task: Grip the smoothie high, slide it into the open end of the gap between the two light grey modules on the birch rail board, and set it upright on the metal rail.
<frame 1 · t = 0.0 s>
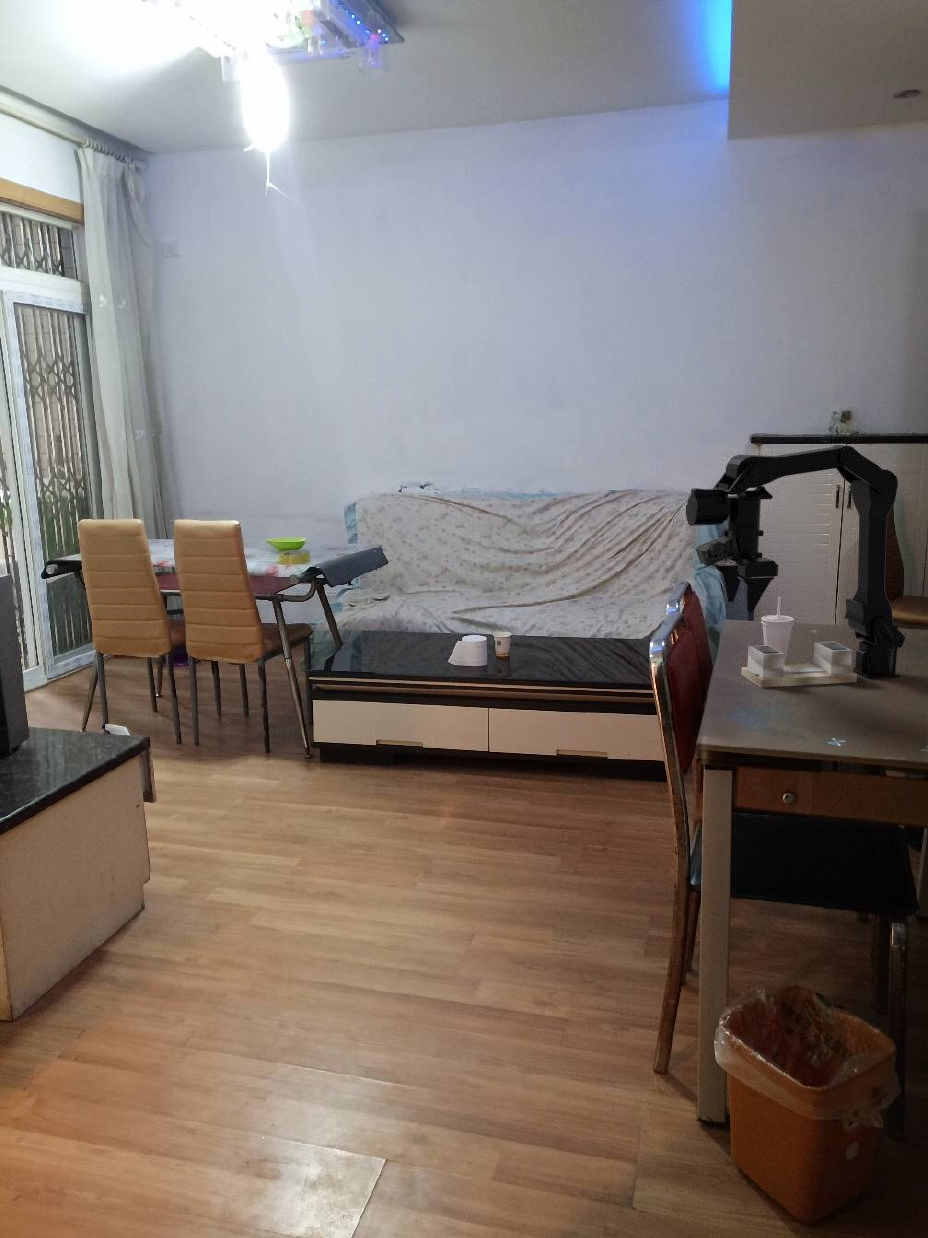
hand: (739, 606, 183), 15 cm above the table, fingers open, 9 cm apart
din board: (797, 678, 187), on the table
smoothie: (775, 665, 197), on the table
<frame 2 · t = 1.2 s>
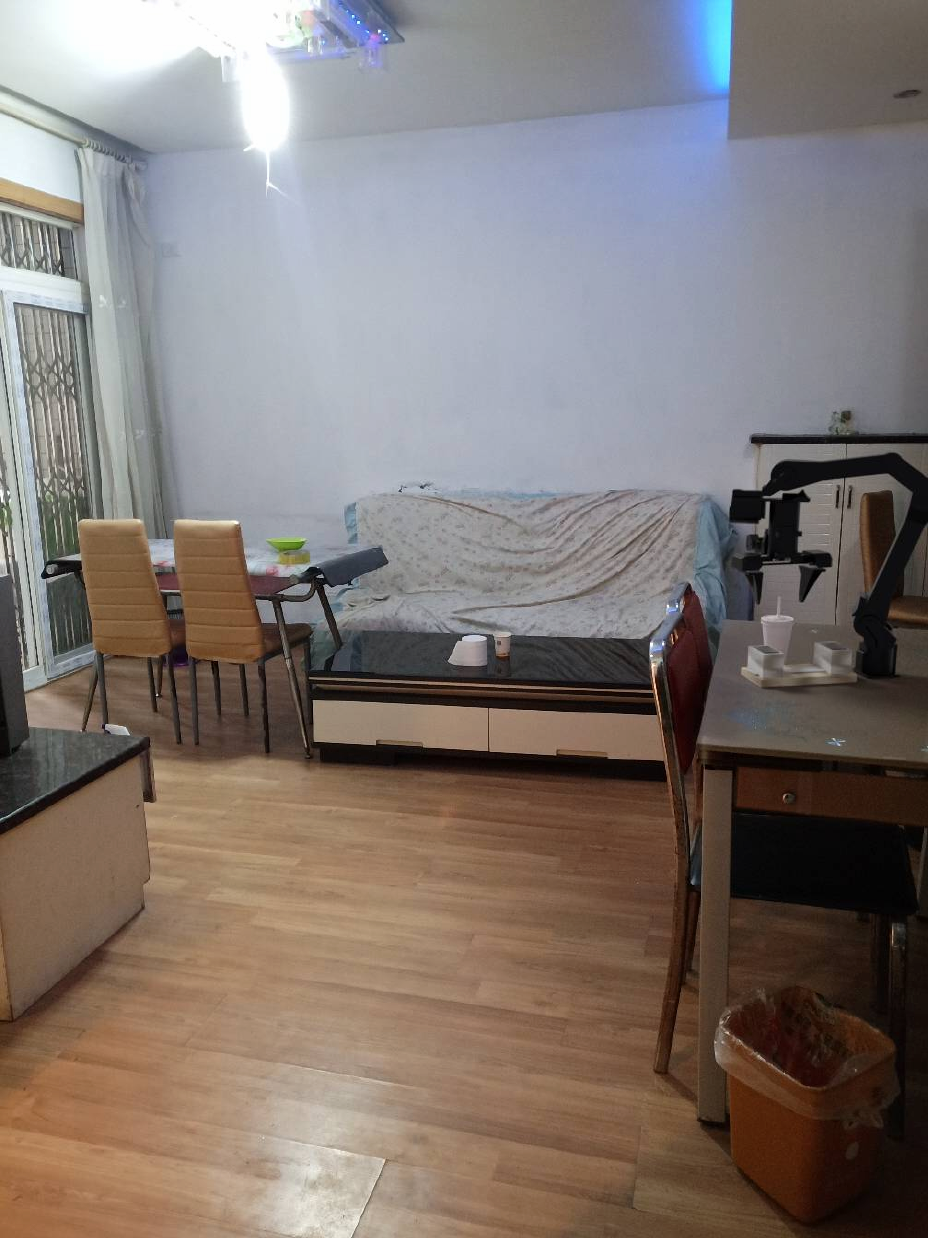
hand: (779, 603, 193), 13 cm above the table, fingers open, 9 cm apart
nothing on the table moved.
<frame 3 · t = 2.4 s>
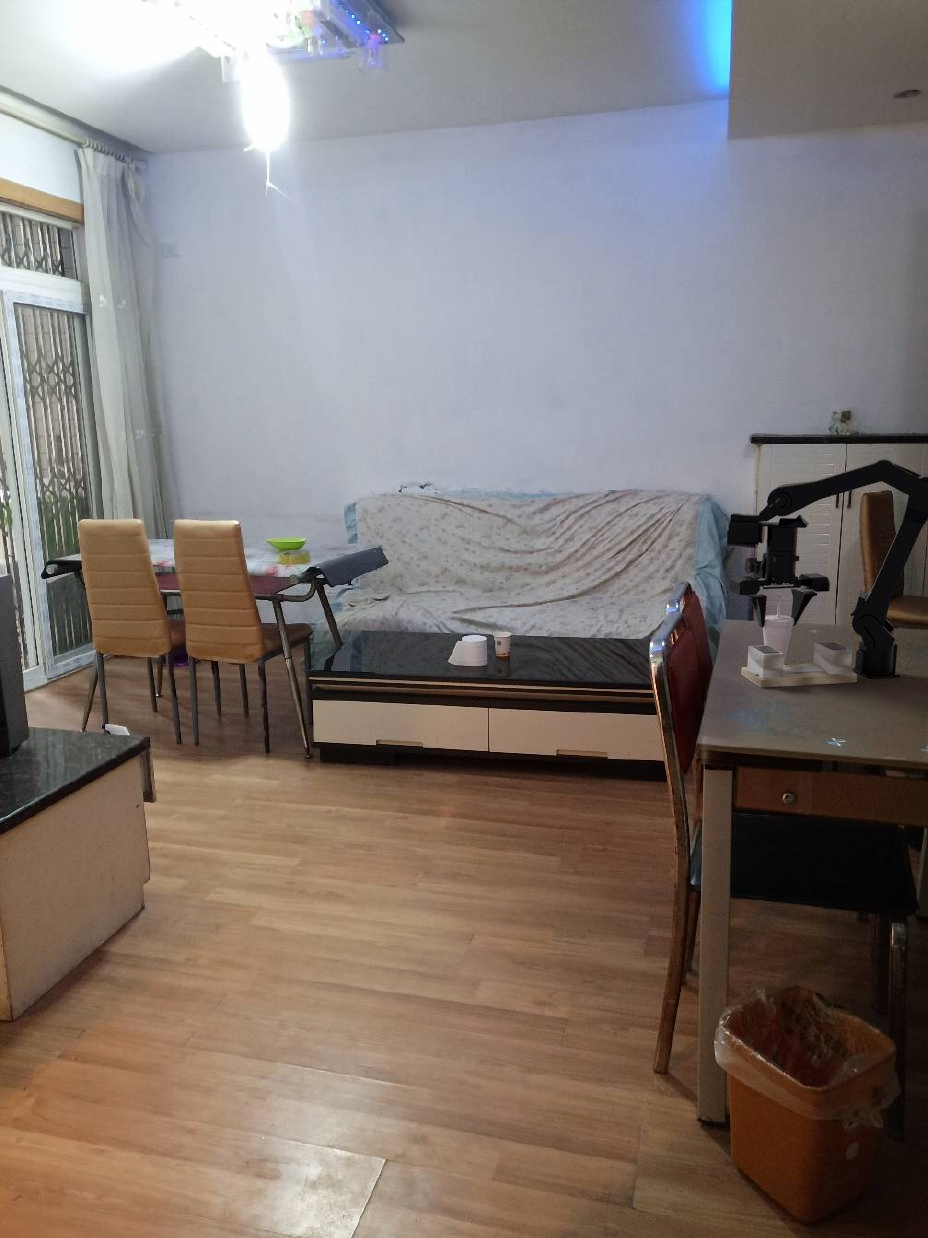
hand: (777, 626, 195), 8 cm above the table, fingers closed on smoothie, 6 cm apart
smoothie: (775, 665, 197), on the table, touching gripper
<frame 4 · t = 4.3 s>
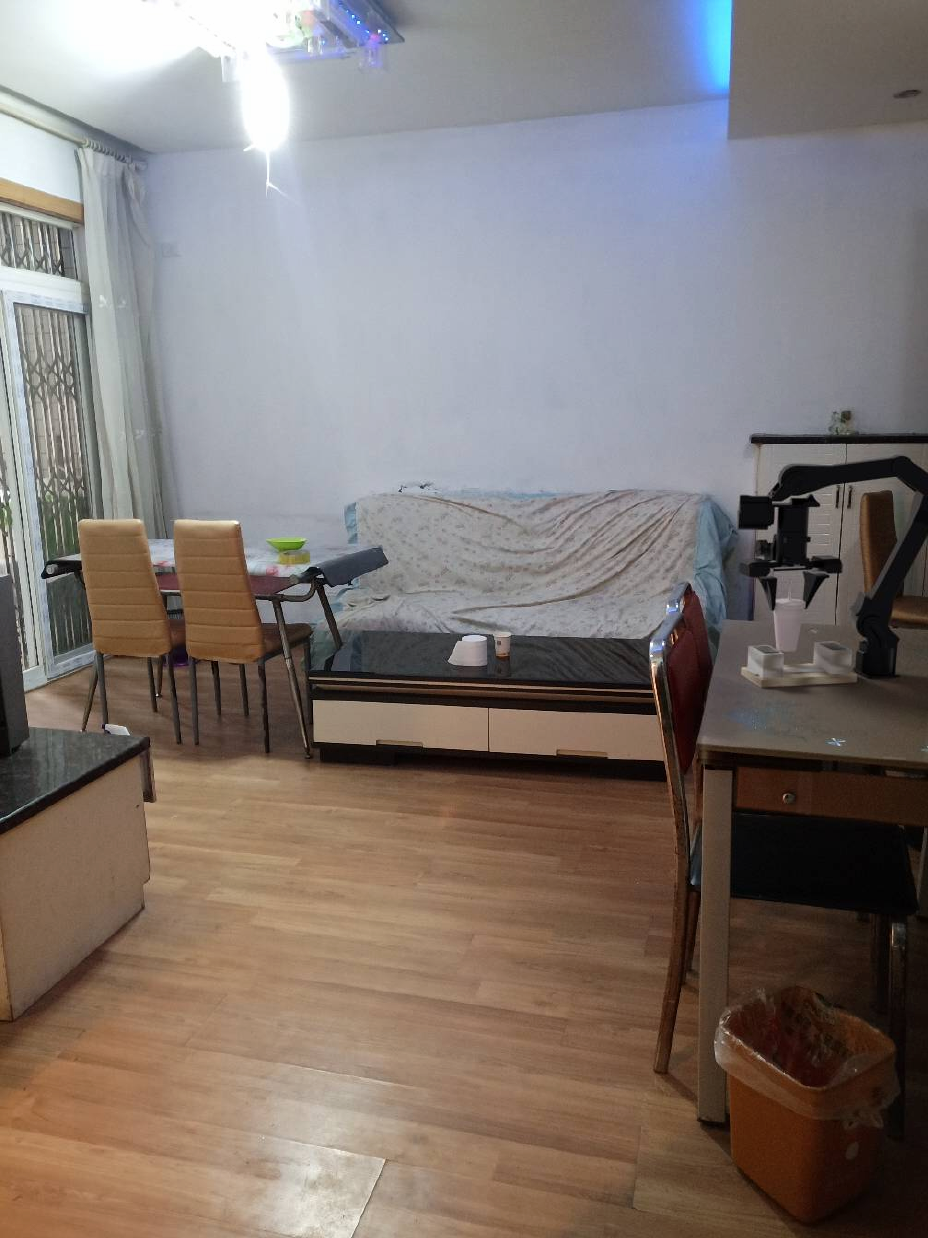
hand: (788, 609, 190), 12 cm above the table, fingers closed on smoothie, 6 cm apart
smoothie: (786, 650, 192), point 4 cm above the table, touching gripper
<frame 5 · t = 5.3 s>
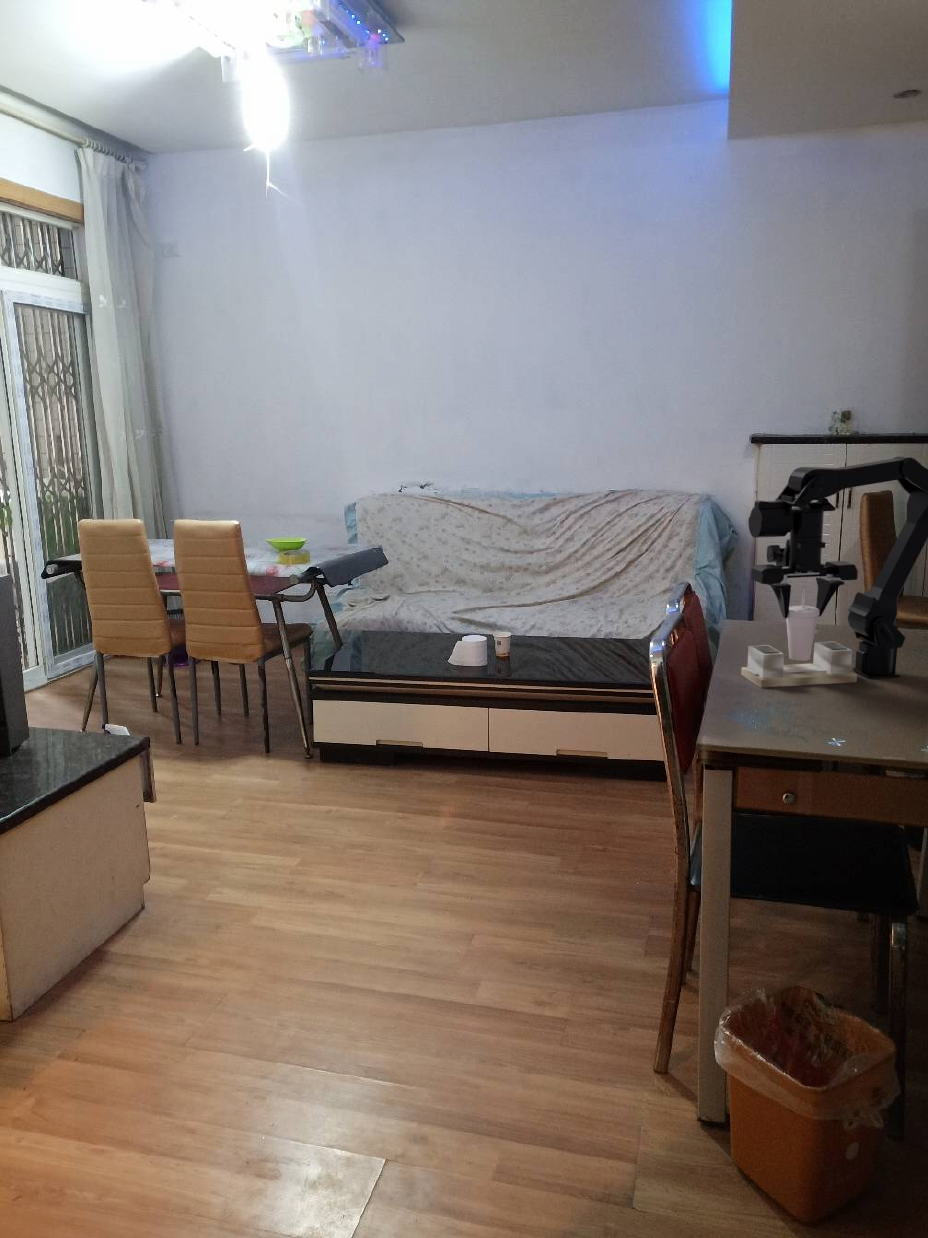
hand: (801, 617, 185), 12 cm above the table, fingers closed on smoothie, 6 cm apart
smoothie: (799, 659, 187), point 4 cm above the table, touching gripper
when the fingers open (10 cm above the table, at t = 6.1 s): smoothie stays where it is, resting on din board.
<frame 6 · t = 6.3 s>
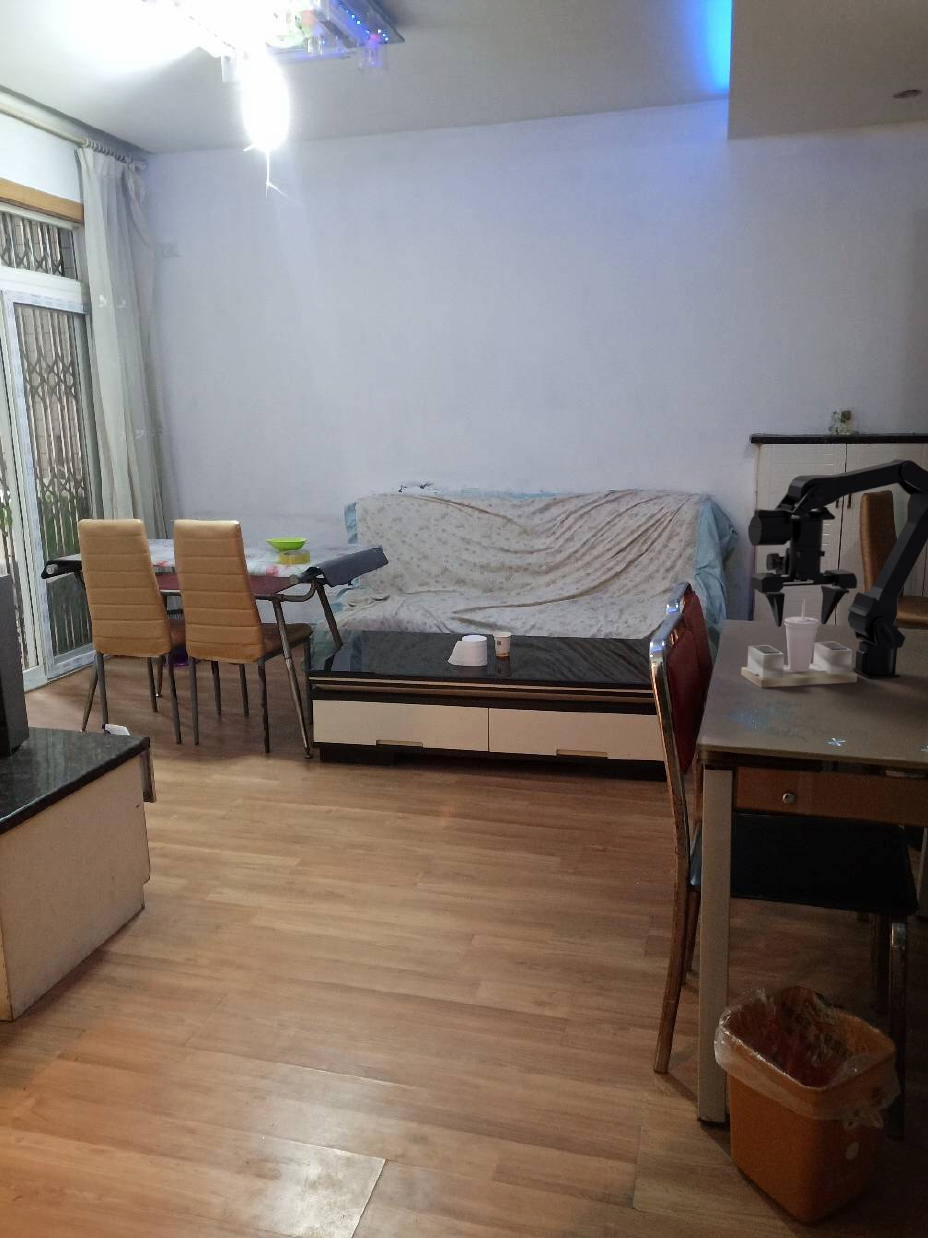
hand: (801, 625, 185), 10 cm above the table, fingers open, 9 cm apart
smoothie: (798, 670, 187), point 2 cm above the table, touching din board
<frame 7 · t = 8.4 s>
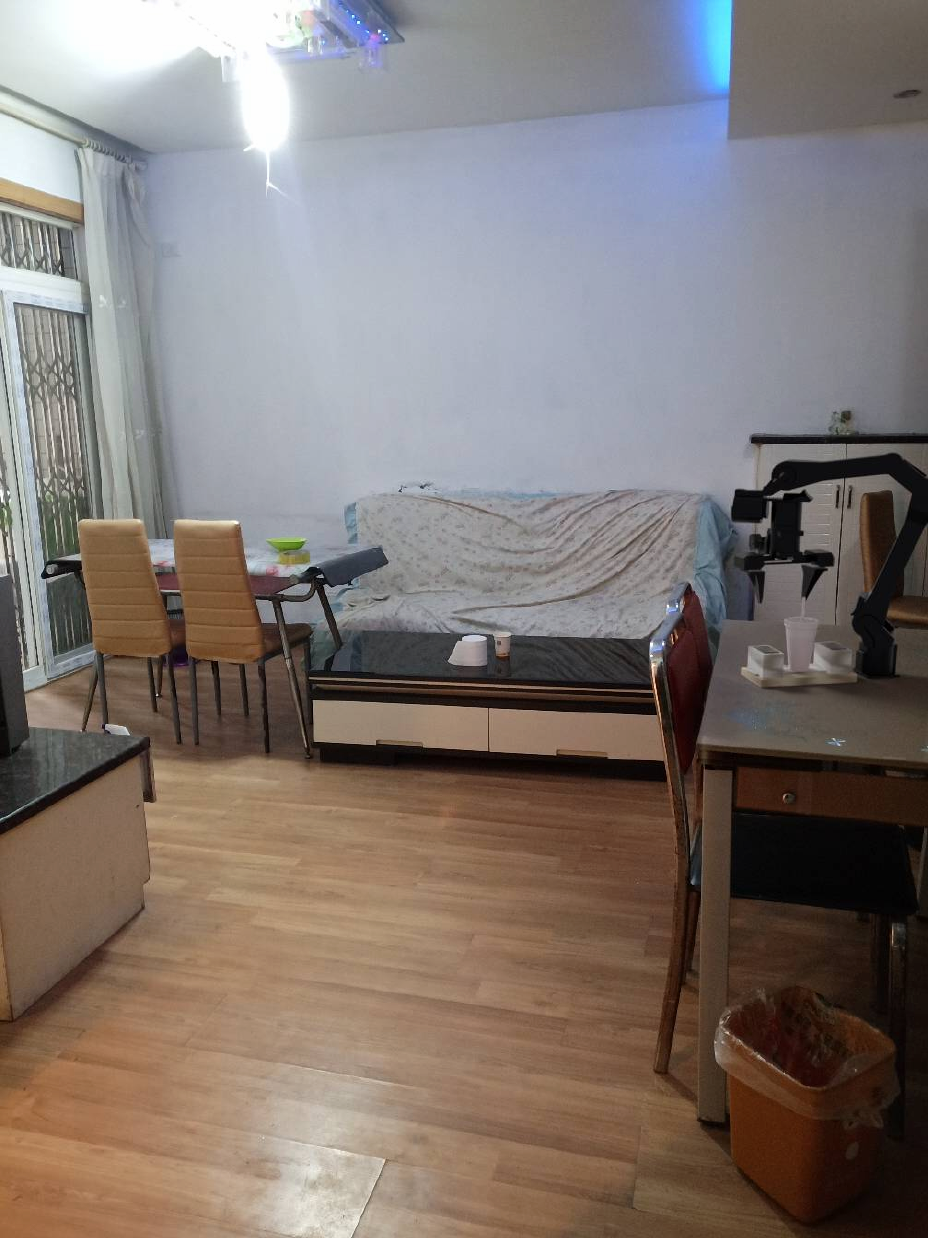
hand: (781, 602, 194), 13 cm above the table, fingers open, 9 cm apart
nothing on the table moved.
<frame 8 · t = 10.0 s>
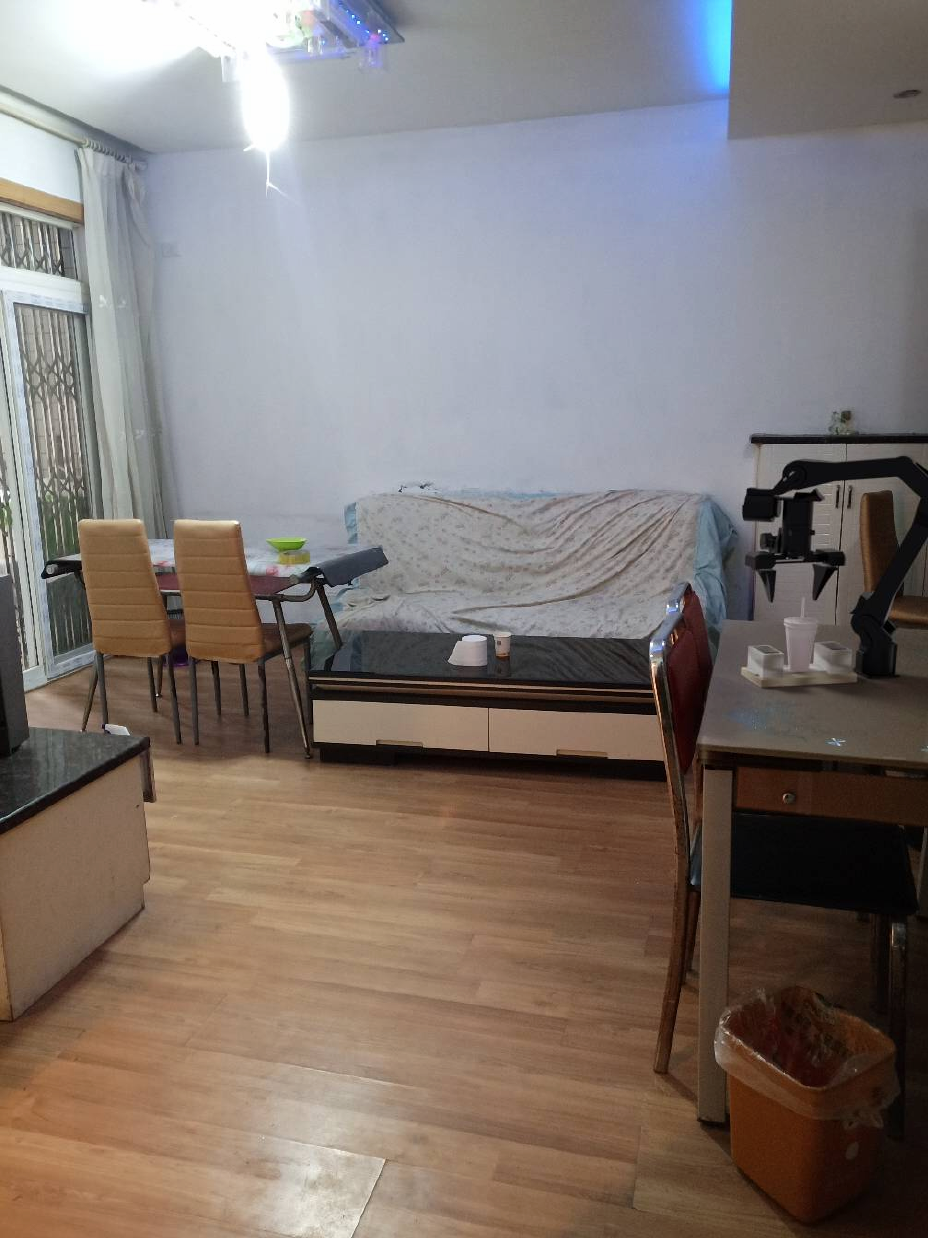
hand: (792, 601, 195), 13 cm above the table, fingers open, 9 cm apart
nothing on the table moved.
at the end: smoothie 0.1 cm off-centre on the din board, point 1.6 cm above the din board's base; smoothie tilted 0°; the gripper is holding nothing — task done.
